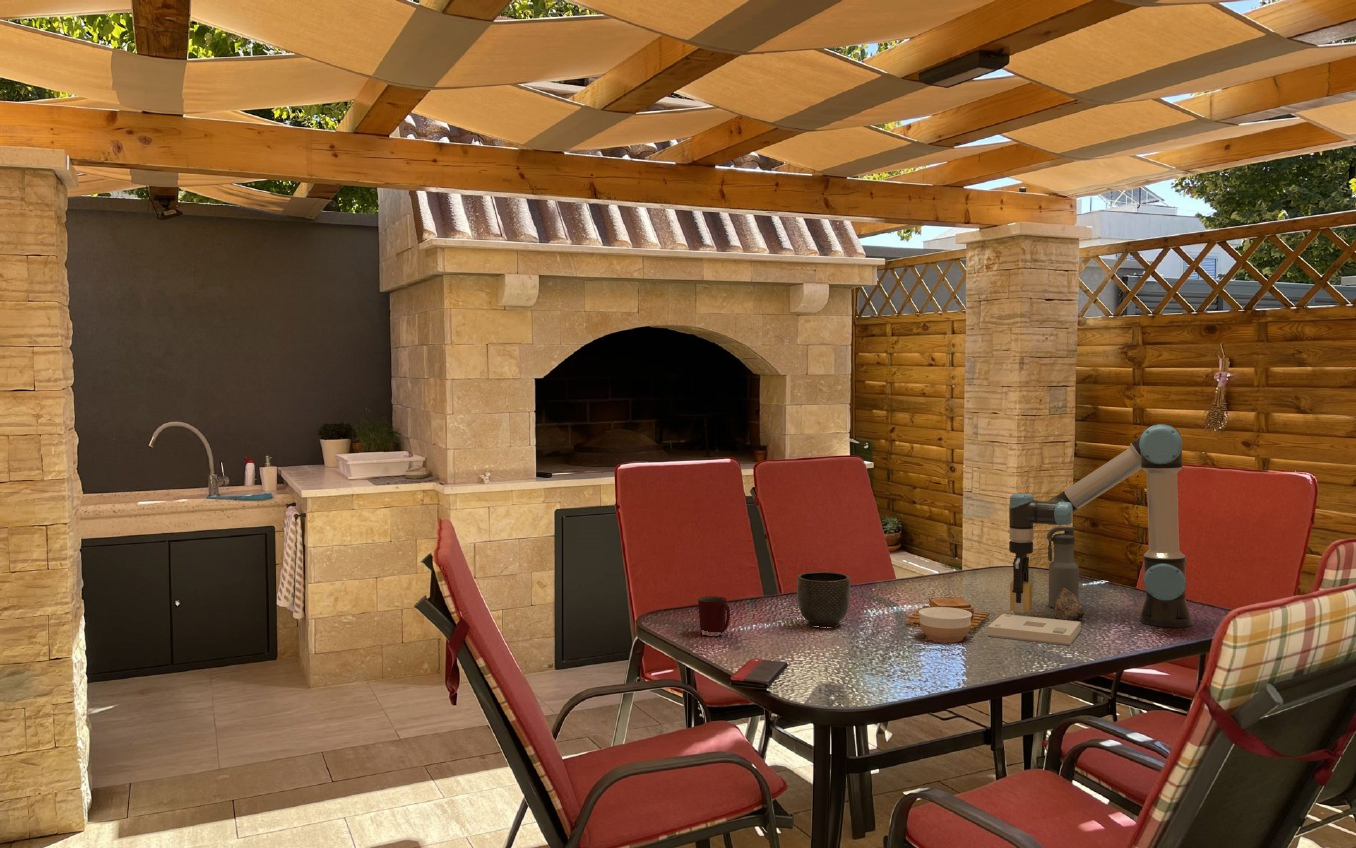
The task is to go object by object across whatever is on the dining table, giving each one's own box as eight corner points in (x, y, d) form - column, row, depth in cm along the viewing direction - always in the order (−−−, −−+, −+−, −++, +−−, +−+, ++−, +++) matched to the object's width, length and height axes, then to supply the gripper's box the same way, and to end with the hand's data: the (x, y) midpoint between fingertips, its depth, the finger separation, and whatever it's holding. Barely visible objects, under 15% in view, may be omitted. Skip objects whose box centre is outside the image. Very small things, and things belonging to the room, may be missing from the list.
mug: (739, 636, 319) (739, 601, 318) (718, 640, 313) (718, 605, 313) (713, 629, 328) (713, 595, 328) (692, 633, 322) (692, 599, 322)
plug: (1031, 618, 339) (1032, 578, 339) (1028, 621, 335) (1028, 581, 334) (1013, 616, 342) (1013, 577, 342) (1009, 619, 338) (1010, 579, 337)
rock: (1057, 630, 334) (1076, 610, 329) (1036, 603, 341) (1054, 583, 336) (1074, 630, 339) (1093, 610, 334) (1053, 603, 346) (1071, 583, 341)
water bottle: (1049, 609, 352) (1049, 528, 351) (1045, 603, 362) (1046, 524, 361) (1080, 610, 350) (1080, 529, 349) (1076, 604, 359) (1076, 525, 358)
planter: (809, 617, 344) (809, 570, 343) (858, 623, 335) (858, 574, 334) (788, 627, 329) (788, 578, 328) (838, 634, 320) (838, 583, 320)
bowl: (908, 634, 319) (908, 609, 319) (951, 630, 324) (951, 605, 324) (938, 646, 304) (938, 620, 304) (983, 641, 309) (983, 615, 309)
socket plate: (1080, 631, 321) (1080, 619, 321) (1069, 645, 303) (1069, 633, 303) (1002, 623, 333) (1002, 611, 333) (987, 636, 316) (987, 624, 315)
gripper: (1015, 536, 347) (1015, 604, 348) (1003, 543, 332) (1003, 614, 333) (1038, 537, 344) (1038, 606, 344) (1027, 545, 328) (1027, 617, 329)
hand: (1020, 610), depth 338 cm, fingers closed on plug, 5 cm apart
